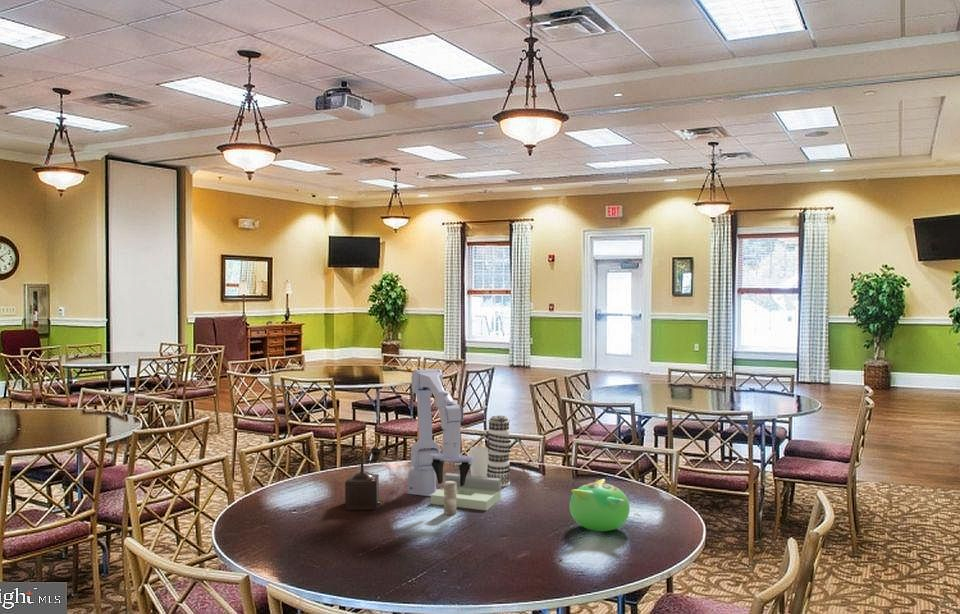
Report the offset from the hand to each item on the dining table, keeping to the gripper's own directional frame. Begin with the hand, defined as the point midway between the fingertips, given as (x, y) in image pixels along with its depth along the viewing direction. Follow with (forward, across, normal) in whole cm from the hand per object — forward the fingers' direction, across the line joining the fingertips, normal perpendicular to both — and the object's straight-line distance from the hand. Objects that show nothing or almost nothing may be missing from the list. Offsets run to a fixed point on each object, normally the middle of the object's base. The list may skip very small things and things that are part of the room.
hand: (451, 484), depth 236 cm
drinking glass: (+10, -1, +29) cm, 30 cm away
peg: (+10, 0, 0) cm, 10 cm away
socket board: (+9, 0, +14) cm, 17 cm away
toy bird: (+10, +48, +1) cm, 49 cm away
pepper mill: (+10, -31, -1) cm, 33 cm away
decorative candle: (+10, +3, +39) cm, 40 cm away
